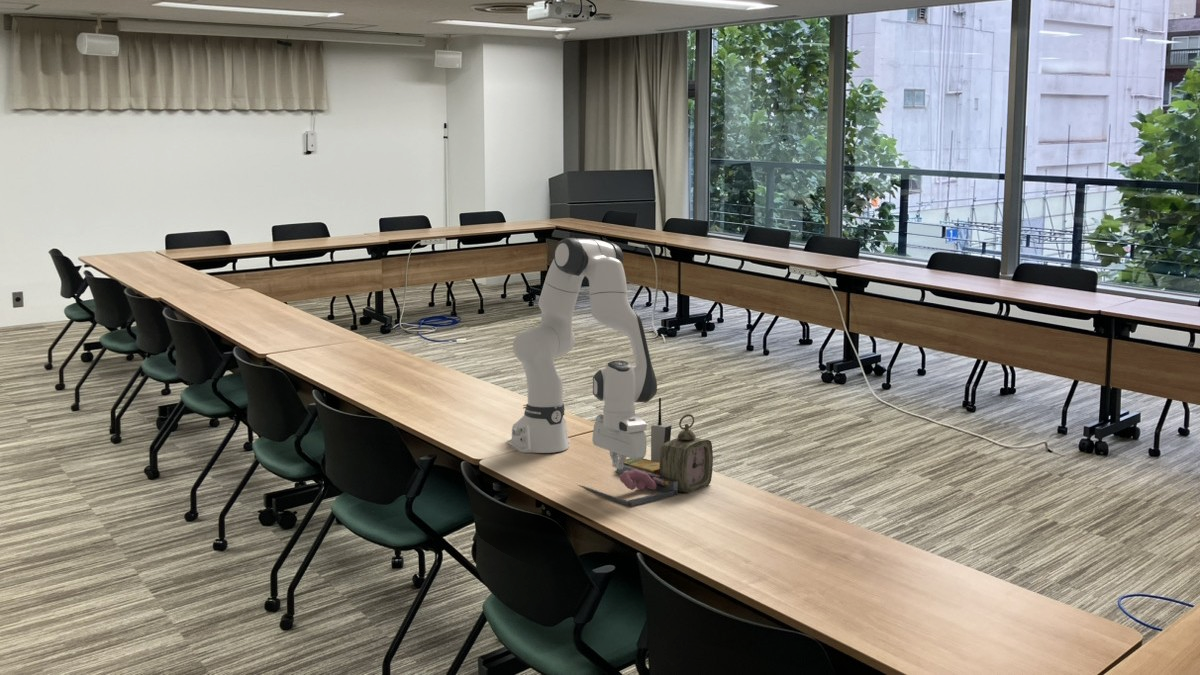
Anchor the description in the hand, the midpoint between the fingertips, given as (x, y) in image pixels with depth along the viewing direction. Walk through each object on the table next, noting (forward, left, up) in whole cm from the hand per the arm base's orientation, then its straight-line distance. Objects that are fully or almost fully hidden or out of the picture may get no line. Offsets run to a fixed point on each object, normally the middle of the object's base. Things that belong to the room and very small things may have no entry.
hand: (617, 467), depth 288 cm
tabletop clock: (+9, +17, -11) cm, 22 cm away
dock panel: (+1, +1, -7) cm, 7 cm away
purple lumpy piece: (+7, +2, -6) cm, 10 cm away
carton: (+1, +15, -9) cm, 17 cm away
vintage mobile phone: (-9, +24, -10) cm, 27 cm away
